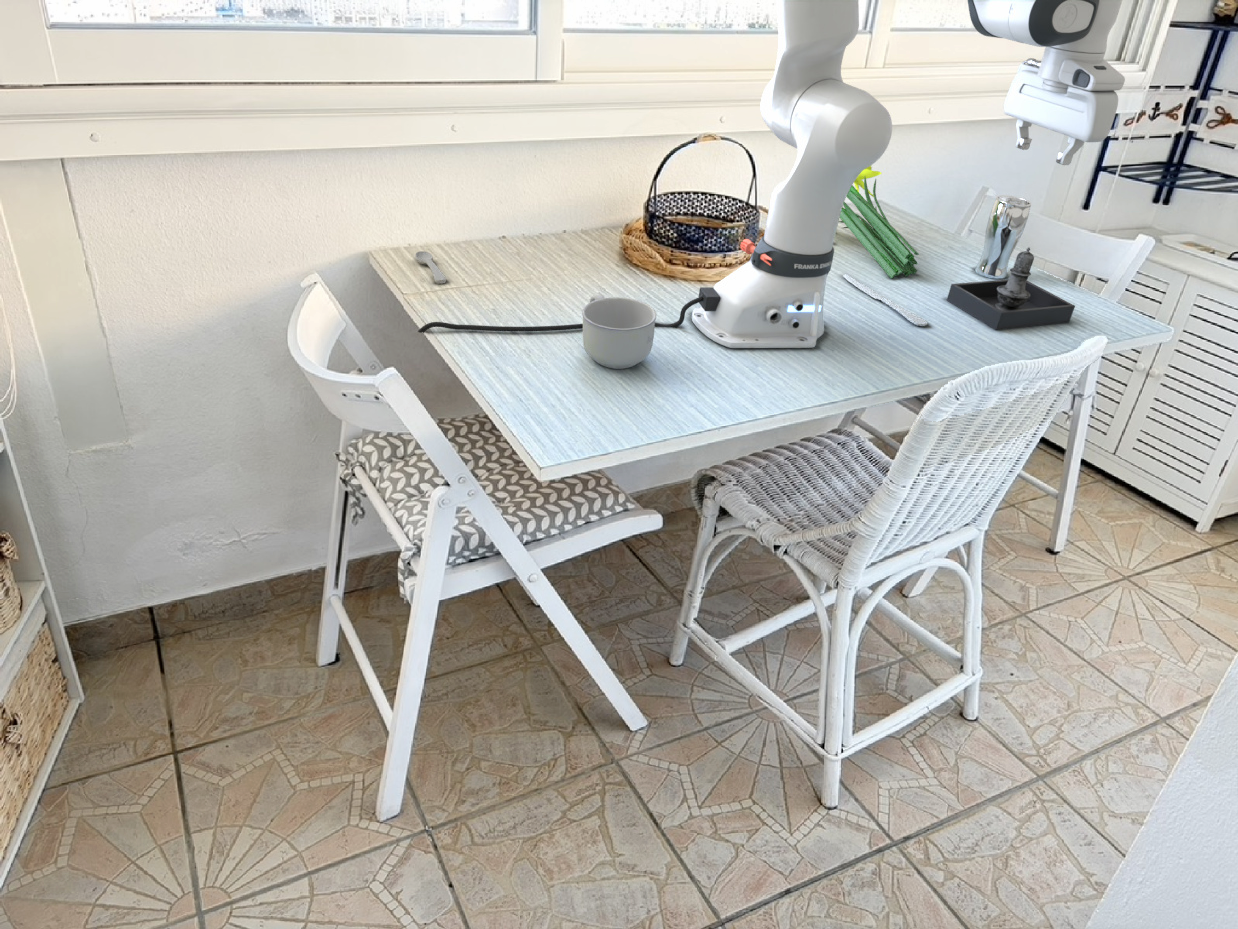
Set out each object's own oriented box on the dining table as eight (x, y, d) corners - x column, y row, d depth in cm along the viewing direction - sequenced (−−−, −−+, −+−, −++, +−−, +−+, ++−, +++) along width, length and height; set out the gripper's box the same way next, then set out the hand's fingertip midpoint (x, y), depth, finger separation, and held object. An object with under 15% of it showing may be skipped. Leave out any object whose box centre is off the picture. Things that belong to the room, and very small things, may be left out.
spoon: (428, 257, 166) (428, 246, 165) (449, 286, 158) (449, 275, 157) (412, 258, 165) (412, 248, 164) (433, 288, 157) (433, 277, 156)
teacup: (660, 374, 136) (666, 324, 131) (589, 378, 132) (593, 327, 128) (632, 334, 147) (637, 286, 142) (566, 337, 144) (569, 288, 139)
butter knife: (917, 324, 159) (930, 323, 160) (837, 273, 177) (850, 272, 178) (916, 327, 159) (930, 325, 161) (837, 275, 177) (849, 274, 179)
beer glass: (1015, 277, 187) (1039, 203, 179) (994, 281, 183) (1018, 207, 175) (986, 265, 191) (1009, 193, 183) (965, 269, 188) (988, 196, 180)
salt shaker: (1026, 318, 167) (1049, 255, 161) (993, 313, 168) (1014, 249, 162) (1021, 306, 172) (1043, 244, 166) (989, 301, 173) (1009, 239, 166)
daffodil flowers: (856, 284, 177) (777, 184, 198) (892, 312, 187) (813, 213, 208) (925, 219, 170) (835, 122, 191) (959, 251, 180) (870, 155, 201)
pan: (995, 330, 162) (1001, 312, 160) (946, 300, 172) (951, 283, 170) (1069, 322, 168) (1075, 305, 167) (1017, 293, 178) (1022, 278, 177)
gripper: (1008, 55, 154) (985, 140, 161) (1103, 81, 138) (1072, 174, 146) (1037, 55, 156) (1012, 139, 163) (1134, 81, 140) (1102, 172, 148)
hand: (1041, 156), depth 154 cm, fingers open, 8 cm apart
